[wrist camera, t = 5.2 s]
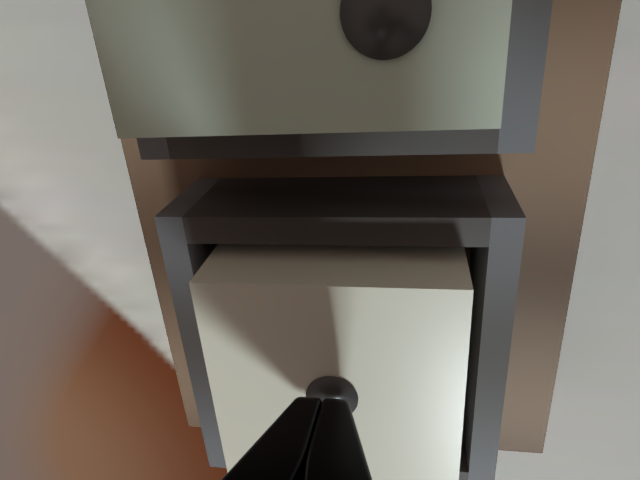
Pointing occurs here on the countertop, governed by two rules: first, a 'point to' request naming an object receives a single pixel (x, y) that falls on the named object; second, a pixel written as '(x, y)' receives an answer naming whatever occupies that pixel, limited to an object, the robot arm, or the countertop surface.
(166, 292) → the digit board
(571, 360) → the countertop surface
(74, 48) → the countertop surface
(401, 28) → the tile two
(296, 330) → the tile one
